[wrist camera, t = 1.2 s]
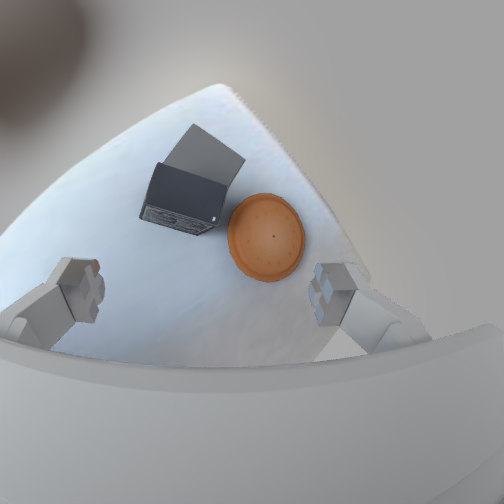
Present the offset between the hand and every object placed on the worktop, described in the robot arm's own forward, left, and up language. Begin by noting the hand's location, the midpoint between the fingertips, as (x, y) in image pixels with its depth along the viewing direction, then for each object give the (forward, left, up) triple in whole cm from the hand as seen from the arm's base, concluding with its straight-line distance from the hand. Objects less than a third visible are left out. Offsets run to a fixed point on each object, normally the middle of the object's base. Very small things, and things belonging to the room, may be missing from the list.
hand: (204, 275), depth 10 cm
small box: (+11, 0, -35) cm, 37 cm away
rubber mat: (+21, 0, -35) cm, 40 cm away
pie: (+15, -16, -35) cm, 41 cm away
